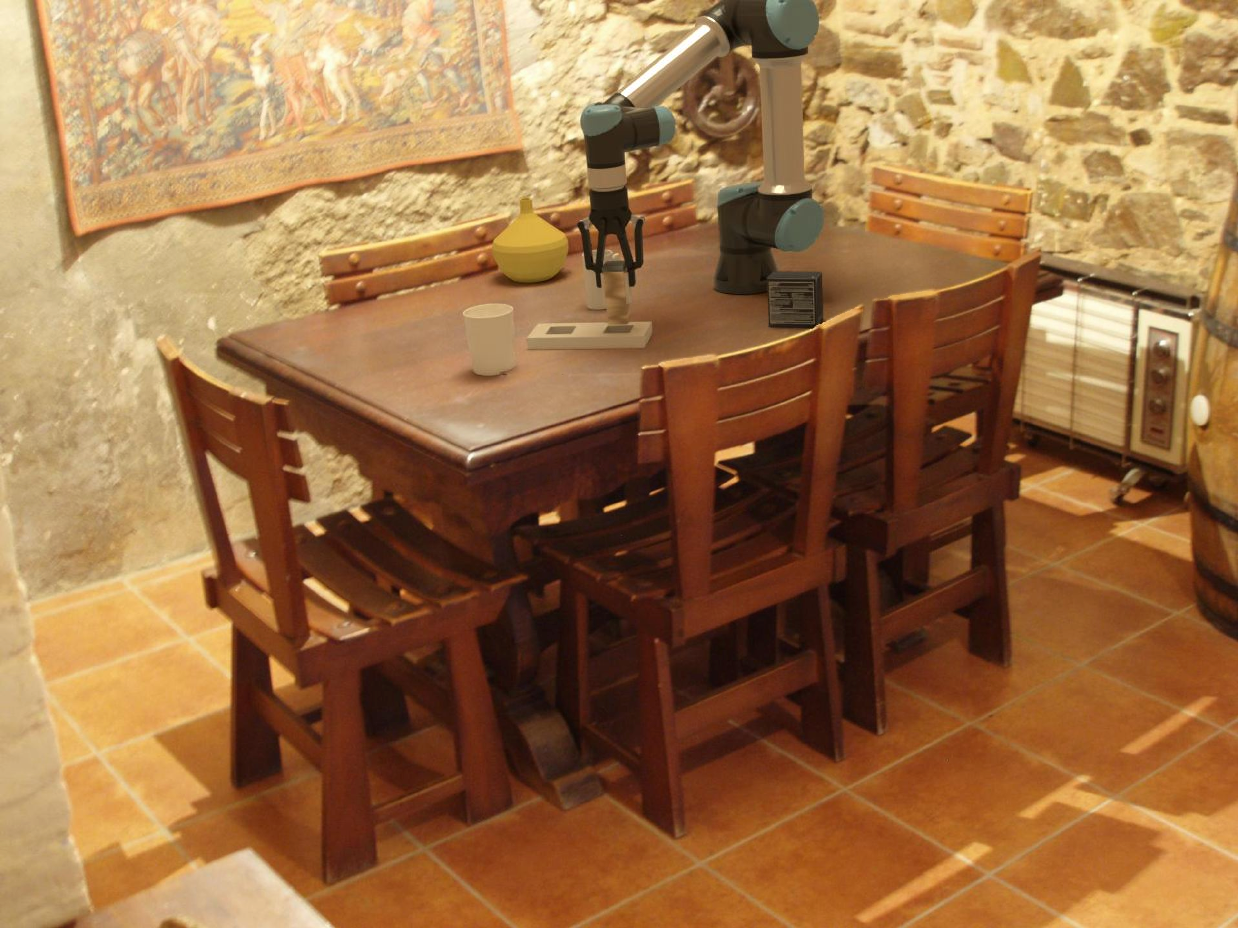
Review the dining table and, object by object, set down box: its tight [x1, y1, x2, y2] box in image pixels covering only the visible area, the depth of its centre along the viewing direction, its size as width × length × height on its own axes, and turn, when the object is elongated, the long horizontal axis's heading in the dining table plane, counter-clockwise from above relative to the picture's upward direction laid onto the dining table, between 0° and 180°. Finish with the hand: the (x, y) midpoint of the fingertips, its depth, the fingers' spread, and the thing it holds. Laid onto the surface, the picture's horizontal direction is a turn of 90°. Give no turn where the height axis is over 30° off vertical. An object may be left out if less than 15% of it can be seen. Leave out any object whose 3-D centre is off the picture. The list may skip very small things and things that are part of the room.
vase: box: [491, 197, 569, 284], centre depth 342 cm, size 18×18×19 cm
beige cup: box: [462, 303, 516, 377], centre depth 278 cm, size 10×10×12 cm
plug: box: [602, 260, 632, 325], centre depth 286 cm, size 4×4×12 cm
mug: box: [581, 249, 622, 311], centre depth 316 cm, size 10×7×12 cm, turn 125°
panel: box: [526, 321, 653, 351], centre depth 291 cm, size 24×10×3 cm, turn 80°
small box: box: [766, 270, 824, 329], centre depth 293 cm, size 11×6×10 cm, turn 71°
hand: (617, 302), depth 287 cm, fingers closed on plug, 4 cm apart
